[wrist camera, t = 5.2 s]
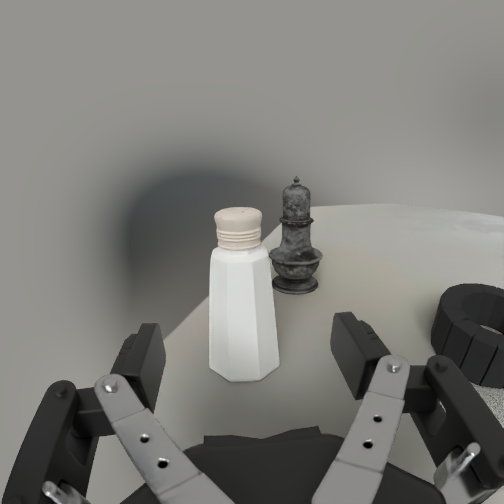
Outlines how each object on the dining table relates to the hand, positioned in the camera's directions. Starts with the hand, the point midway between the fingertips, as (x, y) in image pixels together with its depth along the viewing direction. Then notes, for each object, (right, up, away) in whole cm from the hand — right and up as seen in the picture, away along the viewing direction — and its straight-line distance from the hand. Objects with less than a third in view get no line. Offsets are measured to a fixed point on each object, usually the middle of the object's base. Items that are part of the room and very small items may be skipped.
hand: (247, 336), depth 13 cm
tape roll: (+21, -5, +6) cm, 22 cm away
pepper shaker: (0, -4, +8) cm, 9 cm away
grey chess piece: (+5, 0, +20) cm, 21 cm away
